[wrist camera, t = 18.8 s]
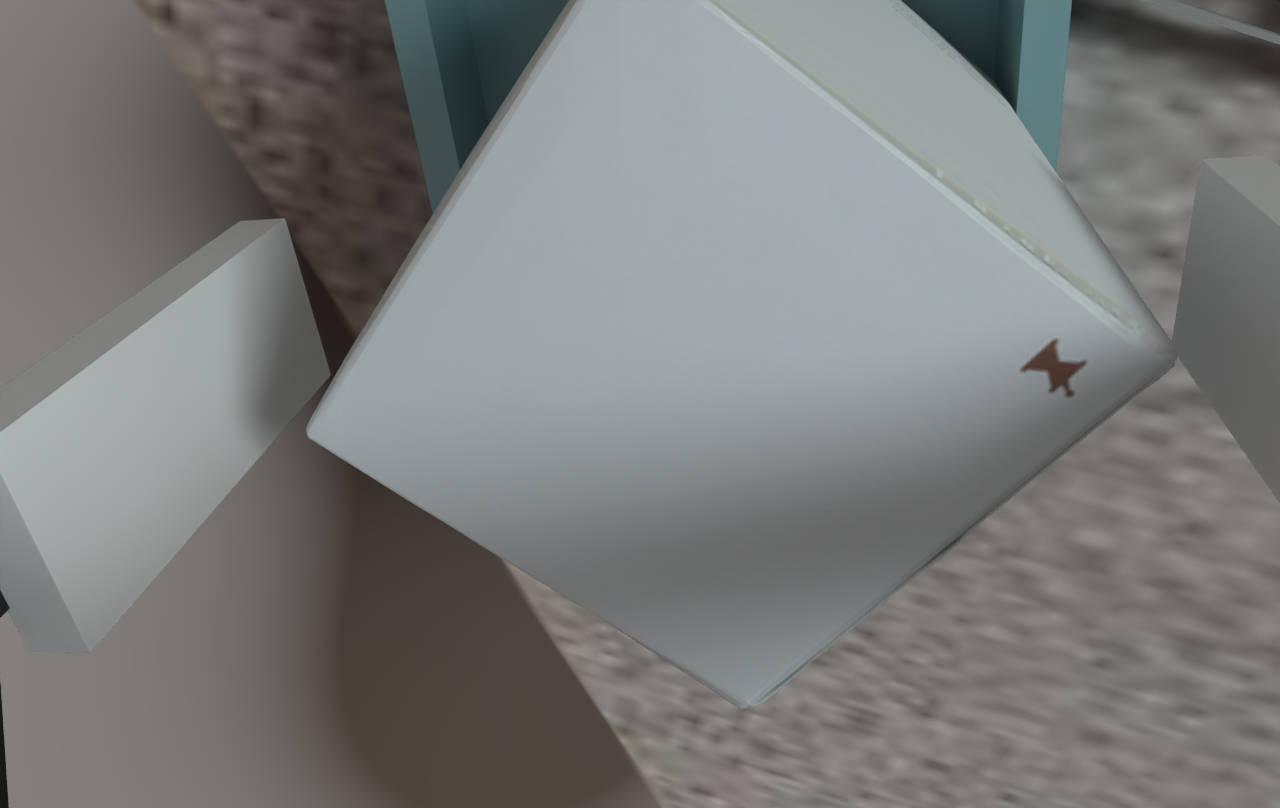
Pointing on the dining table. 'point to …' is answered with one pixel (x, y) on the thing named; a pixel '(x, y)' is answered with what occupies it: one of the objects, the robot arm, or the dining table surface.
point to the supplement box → (740, 325)
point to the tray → (531, 3)
